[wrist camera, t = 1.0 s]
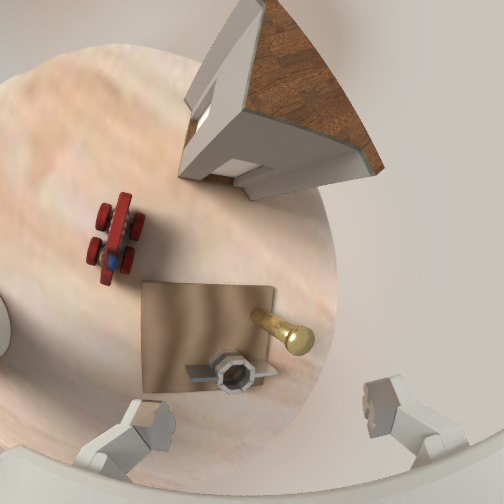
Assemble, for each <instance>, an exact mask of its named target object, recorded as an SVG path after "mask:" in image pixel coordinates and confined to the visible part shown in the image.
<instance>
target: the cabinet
mask: <svg viewBox="0 0 504 504" xmlns="http://www.w3.org/2000/svg"><path fill="white" fill-rule="evenodd" d="M184 101H185V103H186V104H187V105H188V107H189V108H190V110H191V111H192V113H191V118H190V122H189V126H188V130H187V135H186V139H185V144H184V148H183V153H182V158H181V163H180V168H179V173H178V177H180V178H186V179H192V180H199V181H205V182H211V183H216V184H222V185H228V186H233V187H239V188H242V189H243V191H244V192H245V194H246V195H247V197H248V198H249V200H250V201H253V200H257V199H261V198H266V197H270V196H275V195H279V194H284V193H288V192H293V191H298V190H303V189H307V188H312V187H317V186H322V185H327V184H332V183H337V182H343V181H348V180H353V179H359V178H364V177H370V176H376V175H377V174H378V173H379V172H380V171H382V170H383V169H384V168H385V167H384V165H383V163H382V161H381V159H380V156H379V155H378V153H377V150H376V148H375V146H374V144H373V143H372V141H371V139H370V137H369V135H368V133H367V131H366V129H365V127H364V125H363V124H362V122H361V120H360V119H359V117H358V115H357V113H356V111H355V109H354V108H353V106H352V104H351V103H350V101H349V99H348V98H347V96H346V94H345V93H344V91H343V89H342V88H341V86H340V85H339V83H338V82H337V80H336V78H335V77H334V75H333V74H332V72H331V71H330V70H329V68H328V66H327V65H326V63H325V62H324V60H323V59H322V57H321V56H320V55H319V53H318V52H317V50H316V49H315V47H314V46H313V45H312V43H311V42H310V41H309V39H308V38H307V37H306V35H305V34H304V33H303V31H302V30H301V29H300V27H299V26H298V25H297V24H296V22H295V21H294V20H293V19H292V17H291V16H290V15H289V14H288V13H287V11H286V10H285V9H284V8H283V7H282V5H281V4H280V3H279V2H278V1H277V0H240V1H239V2H238V4H237V5H236V7H235V9H234V10H233V12H232V13H231V15H230V16H229V18H228V20H227V21H226V23H225V24H224V26H223V28H222V29H221V31H220V33H219V34H218V36H217V38H216V40H215V41H214V43H213V45H212V47H211V49H210V50H209V52H208V54H207V55H206V57H205V59H204V61H203V63H202V65H201V67H200V68H199V70H198V72H197V74H196V76H195V78H194V80H193V82H192V84H191V86H190V88H189V90H188V92H187V94H186V96H185V98H184Z"/></svg>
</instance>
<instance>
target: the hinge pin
mask: <svg viewBox="0 0 504 504" xmlns="http://www.w3.org/2000/svg"><path fill="white" fill-rule="evenodd" d="M250 318H251V320H252V322H254V323H255V324H257V325H258V326H260V327H261V328H262V329H264V330H265V331H267V332H268V333H270V334H271V335H273V336H274V337H276V338H277V339H279V340H280V341H282V342H283V343H285V346H286V349H287V350H288V351H289V352H290V353H292V354H293V355H295V356H302V355H305V354H306V353H308V352H309V351H310V350H311V348H312V347H313V344H314V340H315V337H314V333H313V332H312V330H310V329H309V328H307V327H305V326H297V327H295V326H293V325H291V324H290V323H288V322H286V321H284V320H282V319H280V318H278V317H277V316H275V315H273V314H271V313H269V312H268V311H266V310H264V309H262V308H255V309H253V310H252V312H251V314H250Z"/></svg>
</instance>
